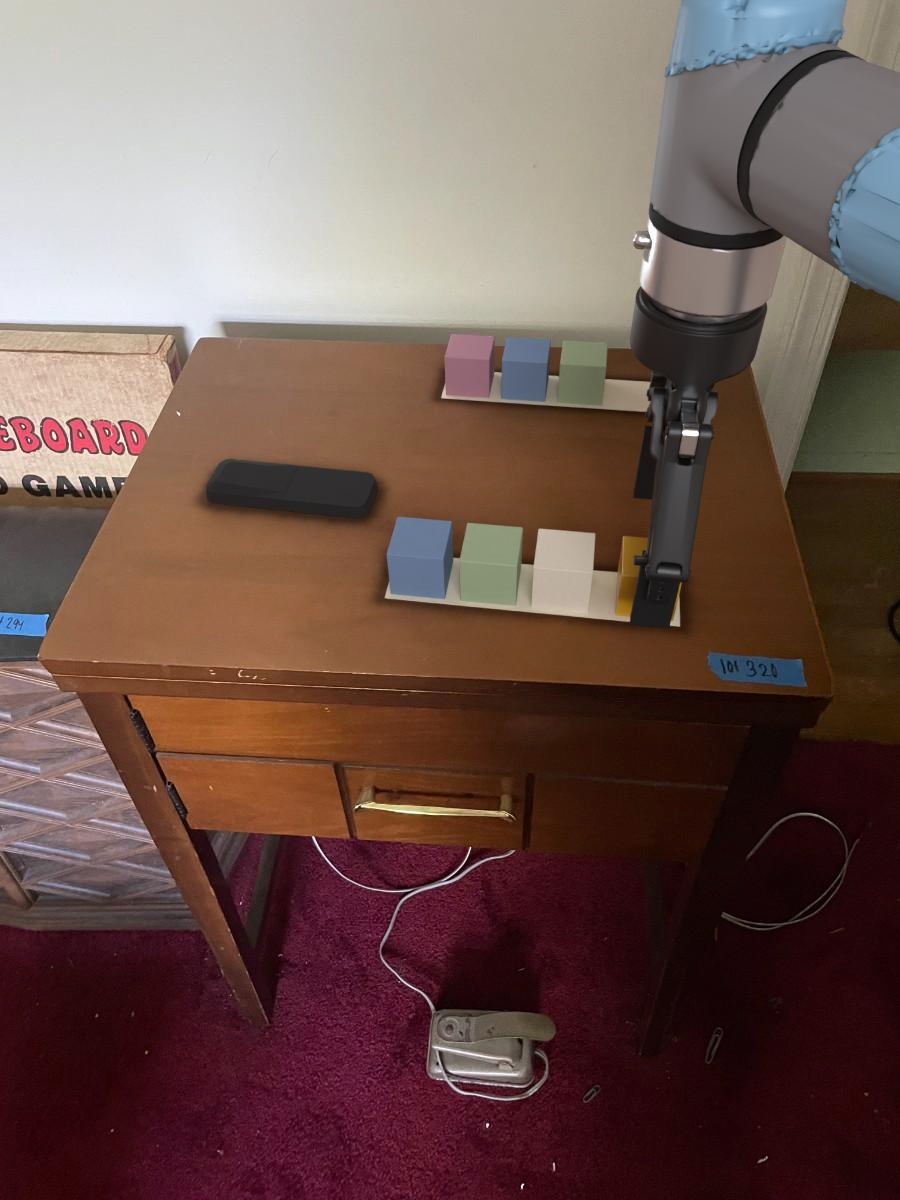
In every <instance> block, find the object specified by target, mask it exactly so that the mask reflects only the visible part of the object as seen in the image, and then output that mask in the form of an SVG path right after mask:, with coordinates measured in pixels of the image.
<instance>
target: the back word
mask: <svg viewBox="0 0 900 1200" xmlns="http://www.w3.org/2000/svg"><path fill="white" fill-rule="evenodd" d="M495 340H496V336H495V335H484V334H483V335H481V334H480V335H479V334H462V333H451V334H450V337H449V340H448V343H447V348H446V350H445V355H444V387H443V390H442V393H441V397H440V398H441V399H446V400H461V401H474V402H476V401H478V402H488V403H489V402H490V403H506V404H520V405H521V404H522V405H534V406H535V405H537V406H548V407H549V406H550V407H551V406H552V407H567V408H579V409H580V408H581V409H595V410H596V409H597V410H608V411H609V410H610V411H624V412H625V411H627V412H638V413H639V412H640V413H641V412H642V413H646V411H647V408H648V407H649V404H650V401H648V396H647V390H648V389H649V386H650V382H651V381H640V380H626V379H609V378H606V375H607V374H606V373H607V366H608V365H607V364H608V348H609V343H608V342H602V341H601V342H600V341H582V340H567V339H565V340H563V341H562V347H561V353H560V360H559V361H560V362H559V374H558V375H550V362H551V361H550V360H551V347H552V345H551V344H552V340H551V339H550V338H549V339H548V338H533V337H532V338H531V337H515V336H507V337H506V340H505V344H504V348H503V353H502V358H501V372H499V371H498V372H497V371H495V356H496V355H495V353H496V352H495V350H496V349H495V348H496V346H495V342H496V341H495Z"/></svg>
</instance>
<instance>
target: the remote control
mask: <svg viewBox="0 0 900 1200" xmlns="http://www.w3.org/2000/svg"><path fill="white" fill-rule="evenodd" d="M378 488H379V487H378V484H377V480H376V477H375V475H373V473H371V472H368V471H358V470H347V469H338V468H327V467H318V466H310V465H309V466H307V465H297V464H287V463H277V462H268V461H257V460H247V459H236V458H226V459H223V460H222V461H220V462H219V463H218V464H217V466H216V468H215V469H214V471H213V473H212V475H211V476H210V478H209V480H208V482H207V483H206V487H205V491H206V493H205V494H206V500H207V501H208V502H209V503H212V504H220V505H229V506H240V507H248V508H257V509H265V510H275V511H286V512H296V513H302V514H303V513H304V514H312V515H313V514H314V515H322V516H323V515H325V516H333V517H342V518H343V517H344V518H350V519H351V518H353V519H363V518H365V517H366V516H368V515H369V514H370V512H371V510H372V507H373V505H374V502H375V499H376V496H377V494H378V491H379V489H378Z"/></svg>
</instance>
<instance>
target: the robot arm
mask: <svg viewBox="0 0 900 1200" xmlns="http://www.w3.org/2000/svg"><path fill="white" fill-rule="evenodd" d="M847 5H848V0H680V4H679V9H678V14H677V18H676V22H675V28H674V34H673V39H672V43H671V48H670V53H669V57H668V64H667V66H665V68H664V70H663V78H665V81H664V88H663V98H662V104H661V105H662V106H661V113H660V120H659V128H658V135H657V143H656V150H655V151H656V152H655V157H654V166H653V173H652V179H651V182H652V183H651V188H650V195H649V207H648V217H647V221H646V225H647V226H646V227H647V230H637V231H636V232H635V233H634V234H633V237H632V238H633V239H632V246H633V247H634V248H635V249H636V250H643V252H642V257H641V264H640V270H639V271H640V272H639V283H640V286H639V287H638V289H637V291H636V293H635V299H634V305H633V306H634V307H633V313H632V321H631V326H630V332H629V346H630V349H631V352H632V354H633V355H634V357H635V359H636V360H637V361H638V362H639V363H640V364H641V365H642V366H644V367H645V368H646V369H648V370H649V371H651V373H650V381H649V382H650V386H649V389H648V390H647V396H648V401H650V404H649V407H648V408H647V411H646V412H645V415H644V417H645V418H646V419H645V420H646V423H651V425H644V426H643V432H642V439H641V444H640V450H639V456H638V462H637V467H636V475H635V480H634V487H633V492H632V498H633V499H641V500H651V507H650V516H649V523H648V532H647V538H648V541H647V550H643V552H642V556H637V555H634V561H633V565H637V566H640V568H639V573H638V578H637V583H636V589H635V594H634V599H633V604H632V610H631V615H630V622H629V625H630V626H641V627H651V628H661V629H662V628H663V629H670V627H671V626H670V623H671V619H672V615H673V611H674V607H675V603H676V598H677V594H678V590H679V586H680V582H681V583H682V584H688V582H689V581H690V578H691V576H692V569H691V564H692V558H693V552H694V545H695V538H696V532H697V526H698V519H699V512H700V505H701V499H702V495H703V486H704V480H705V473H706V468H707V462H708V458H709V453H710V447H711V443H712V441H713V440H714V436H715V430H714V426H713V424H712V420H713V418H715V416H716V414H717V410H718V404H719V390H713V389H714V387H715V385H716V384H717V383H719V382H721V381H724V380H726V379H727V380H728V379H730V378H733V377H735V376H738V375H739V374H742V372H744V371H745V370H746V369H747V368H749V367H750V365H751V364H752V363H753V361H754V360H755V358H756V355H757V351H758V347H759V343H760V339H761V336H762V331H763V328H764V324H765V321H766V318H767V312H768V303H767V302H768V301H769V300H770V299H771V298H772V297H773V293H774V290H775V285H776V281H777V278H778V274H779V271H780V267H781V263H782V259H783V255H784V252H785V248H786V244H787V240H788V239H789V240H791V241H792V242H793V243H795V244H797V245H798V246H800V247H801V248H803V249H804V250H806V251H808V252H809V253H811V254H812V255H814V256H815V257H817V258H818V259H820V260H822V261H823V262H824V263H827V264H828V265H830V267H832V268H833V269H836V270H837V271H839V272H840V273H842V274H843V276H845V277H847V278H848V280H849V281H850V282H852V283H853V284H855V285H858V286H860V287H861V288H862V289H864V290H872V291H874V292H875V293H877V294H878V295H884V296H886V297H888V298H889V299H892V300H894V301H896V302H899V303H900V71H896V70H894V69H891V68H887V67H884V66H883V65H882V66H881V65H878V64H876V63H873V62H869V61H866V60H865V59H863V58H862V57H860V56H857V55H855V54H854V53H851V52H849V51H848V50H845V49H842V48H840V46H838V45H839V42H840V41H841V40H843V35H844V34H845V32H846V29H845V27H844V17H845V14H846V9H847Z"/></svg>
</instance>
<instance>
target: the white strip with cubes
mask: <svg viewBox="0 0 900 1200" xmlns="http://www.w3.org/2000/svg"><path fill="white" fill-rule="evenodd" d="M523 537H524V528H523V526H512V525H499V524H490V523H489V524H486V523H477V522H476V523H475V522H467V523H466V528H465V532H464V538H463V542H462V546H461V551H460V556H459V557H454V539H453V538H454V534H453V521H452V520H443V519H429V518H420V517H419V518H418V517H407V516H397V517H396V521H395V524H394V528H393V531H392V534H391V537H390V541H389V544H388V546H387V547H388V548H387V550H386V563H387V572H388V573H387V574H388V585H387V588H386V591H385V595H384V599H388V600H396V601H397V600H398V601H409V602H418V603H419V602H420V603H428V604H440V605H449V606H450V605H451V606H461V607H470V608H482V609H491V610H502V611H511V612H512V611H514V612H523V613H532V614H533V613H534V614H543V615H555V616H564V617H565V616H566V617H576V618H585V619H595V620H604V621H605V620H607V621H618V622H627V623H630V617H629V616H618V615H616V614H615V613H616V587H617V572H618V571H608V570H607V571H606V570H594V565H595V564H594V562H595V550H596V549H595V548H596V547H595V546H596V533H595V532H584V531H574V530H573V531H571V530H563V529H562V530H561V529H549V528H538V530H537V538H536V546H535V552H534V561H533V564H528V563H522V560H523V559H522V558H523V539H524V538H523ZM680 603H681V602H680V597H679V598H678V602H677V607H676V611H675V615H674V620H673V621H671V623H670V627H681V610H680V609H681V607H680V605H681V604H680Z"/></svg>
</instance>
